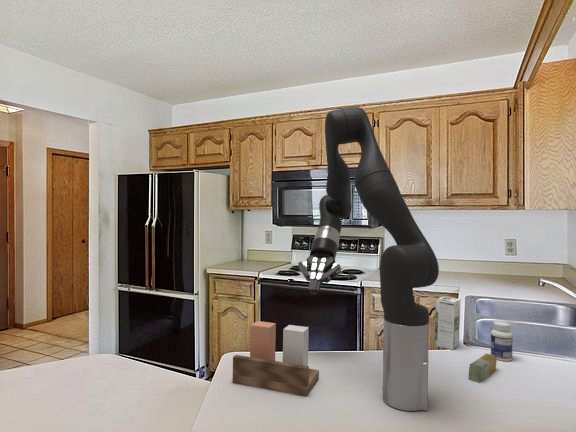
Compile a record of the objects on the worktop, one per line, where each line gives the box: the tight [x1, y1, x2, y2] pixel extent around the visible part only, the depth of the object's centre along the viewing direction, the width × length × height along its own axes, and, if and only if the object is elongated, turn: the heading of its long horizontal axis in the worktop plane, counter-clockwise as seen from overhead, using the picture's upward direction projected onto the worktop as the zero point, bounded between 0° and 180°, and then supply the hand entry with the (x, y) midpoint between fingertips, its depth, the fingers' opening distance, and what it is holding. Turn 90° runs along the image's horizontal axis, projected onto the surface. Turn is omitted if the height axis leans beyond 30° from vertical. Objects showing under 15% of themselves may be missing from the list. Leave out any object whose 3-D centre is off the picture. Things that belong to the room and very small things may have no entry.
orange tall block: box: [249, 320, 277, 361], centre depth 95 cm, size 5×4×10 cm
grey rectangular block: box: [282, 324, 310, 366], centre depth 92 cm, size 5×4×10 cm
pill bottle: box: [490, 321, 514, 362], centre depth 109 cm, size 5×5×10 cm
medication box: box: [468, 353, 497, 383], centre depth 98 cm, size 12×3×4 cm, turn 135°
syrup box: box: [433, 296, 461, 351], centre depth 119 cm, size 6×6×14 cm
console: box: [231, 354, 320, 397], centre depth 92 cm, size 18×10×6 cm, turn 70°
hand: (313, 292), depth 105 cm, fingers closed
